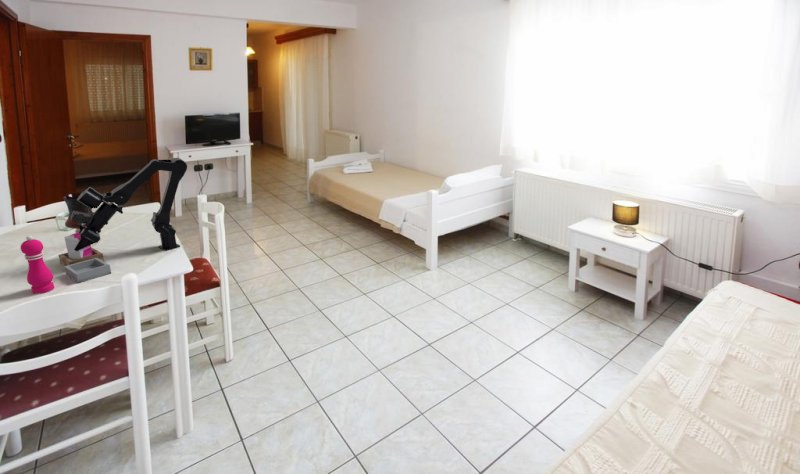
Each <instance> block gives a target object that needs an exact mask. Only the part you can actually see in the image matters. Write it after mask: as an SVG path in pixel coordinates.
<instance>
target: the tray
mask: <svg viewBox="0 0 800 474" xmlns="http://www.w3.org/2000/svg"><path fill="white" fill-rule="evenodd" d="M63 267H64V271H65V275H66V276H67V277H68V278H70V279H72V280H73V281H75V282H76V283H77V284H80V283H83V282H86V281H87V282H88V281H90V280H94V279H97V278H100V277H103V276H108V275H111V274H112V270H111V265H110V264H109V263H107V262H106V261H105V260H104V261H102V260H100V259H98V258H94V259H90V260H86V261H82V262H79V263H75V264H71V265H68V266H64V265H63Z"/></svg>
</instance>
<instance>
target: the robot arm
mask: <svg viewBox="0 0 800 474" xmlns="http://www.w3.org/2000/svg"><path fill="white" fill-rule="evenodd" d="M187 170H188V165H187V163H186V161H184V160H183V159H182V158H180V157H173V158H172V159H166V158H165V159H155V158H154V159H151V160H150V161H149V162H148V163H147V164H146V165H144V167H143V168H141V169H140V170H139V171H138V172H137V173H136V174H135V175H134V176H132V178H130V179H129V180H127V181H126V182H125V183H122V184H120V185H118V186H116V187H115V188H114V189H112V190H111V191H109V192H104V193H103V192H102V193H100V192H99V191H97V190H95V189H94V188H93V187H91V186H89V187H88V188H86V189H85V190H84V191H82V192H81V193H80V195H78V197H77V199H76V201H77V202H79V203H80V204H82V205H84V206H86V207H87V208H89V209H94V210H95V211H93V212H90V214H89V213H86V212H81V211H77V210H72V213H71V214H70V222H73V223H78V225H79V226H78V228H79V230H78V232H77V233H80V235H81V239H80V240H79V242H78V244H77V245H76V247H75V249H74V250H75V251H78V250H81V249H83V248H85V247H87V246H89V245H94V244H98V243H99V242H100V241H101V234H100V233H102V229H103V228H104V227H105V226H107V225H108V224H109V221H110V220H111V219H112V218H113V217H114V216H115V214H117V212H118V213H119V214H124V211H123V206H124V205H125V204H127V203H128V202H129V200H130V199H131V198H132V196H133V195H134V193H135V192H136V190H137V189H138V188H139V187H141V186H142V185H143V184H144V183H145V182H146V181H148V180H149V179H150V178H151V177H152V176H153V175H155V174H156V173H157V172H158V171H164V172H168V179H167V182H166V186H165V189H164V193H163V196H162V199H161V203H160V207H159V209H158V210H157V212H155V211H153V213H152V217H151V219H150V221H151V226H152V228H153V229H154V231H155V232H156V233H158V234H159V237H160V242H161V244H160V245H158V248H160V249H162V250H163V251H169V250H173V249H176V248H179V247H181V245H180V244H178V243H177V240H176V239H177V238H176V232H177V230H176V229H175V227H174V226H173V225H172V224H171V211H172V209H173V205H174V201H175V198H176V193H177V190H178V187H179V184H180V181H181V180H182V178H183V177H184V176H185V174H186V172H187Z"/></svg>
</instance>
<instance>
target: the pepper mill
mask: <svg viewBox="0 0 800 474" xmlns="http://www.w3.org/2000/svg"><path fill="white" fill-rule="evenodd" d="M43 250H44V244H43V242H42V241H40V240H39V239H34V237H33V236H32V235H27V236H26V238H25V241H23V242H22V243H21V244H20V251H21V253H23V254H24V260H26V261H27V264H28V271H27V275H26V280H27V284H29V285H30V286H31V287H30V288H31V292H32V294H36V293H37V294H38V293H40V294H45V293H49V292H51V291H53V290H54V289H55V283H54V282H53V279H54V274H53V272H52V270H51V269H50V268H49V267H48V266H47V264H46V263H45V261H44V256H45V254H44V252H43ZM38 295H39V294H38Z"/></svg>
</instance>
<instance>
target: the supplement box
mask: <svg viewBox="0 0 800 474" xmlns="http://www.w3.org/2000/svg"><path fill="white" fill-rule="evenodd" d="M80 239H81V235H80V233H78V232H75V233H72V234H70V235H67V236H64V241H65V246H66V251H67V253H68V256H69V259H71V260H76V259H80V258H83V257H87V256H91V255H93V254H92V249H91V247H92V246H91V245H92V244H91V245H89V246H87V247H85V248H83V249H81V250H78V251H75V250H74V249H75V247H76V245H77V244H78V242H79V240H80Z"/></svg>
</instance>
